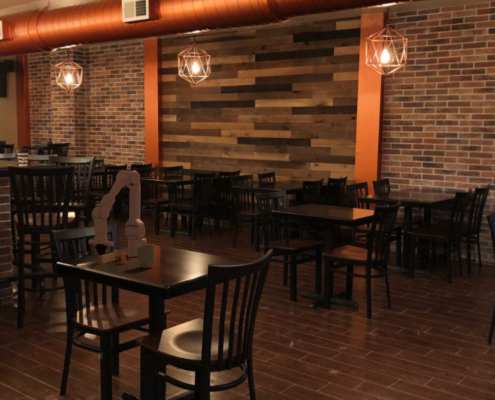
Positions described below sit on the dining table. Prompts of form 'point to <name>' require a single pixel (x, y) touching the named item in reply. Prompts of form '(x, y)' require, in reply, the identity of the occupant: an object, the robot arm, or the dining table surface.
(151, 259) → the cup
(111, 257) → the gate rail
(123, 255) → the latch stile
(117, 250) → the pivot post
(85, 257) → the dining table surface
